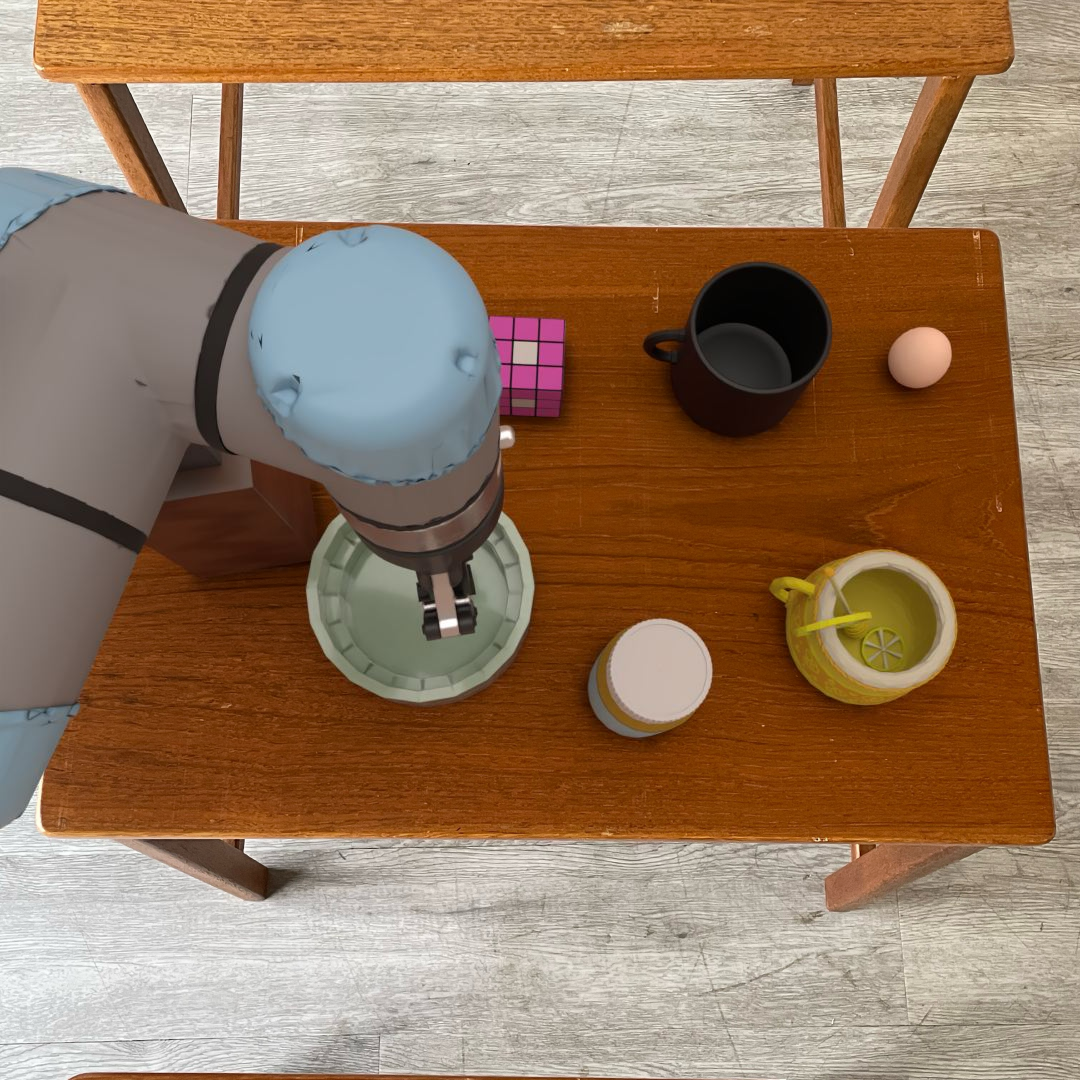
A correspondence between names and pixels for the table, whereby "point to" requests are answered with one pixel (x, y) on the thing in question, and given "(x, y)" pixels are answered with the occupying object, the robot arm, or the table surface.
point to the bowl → (416, 618)
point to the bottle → (650, 678)
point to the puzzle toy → (530, 364)
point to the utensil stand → (233, 515)
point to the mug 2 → (869, 625)
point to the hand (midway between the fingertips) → (451, 572)
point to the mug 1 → (747, 347)
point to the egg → (920, 357)
